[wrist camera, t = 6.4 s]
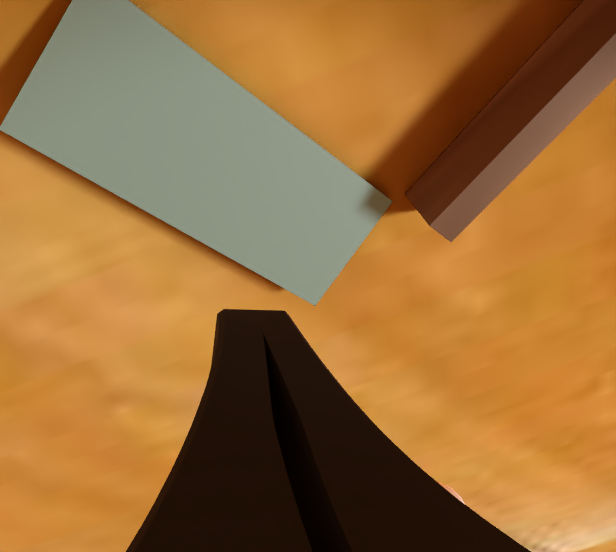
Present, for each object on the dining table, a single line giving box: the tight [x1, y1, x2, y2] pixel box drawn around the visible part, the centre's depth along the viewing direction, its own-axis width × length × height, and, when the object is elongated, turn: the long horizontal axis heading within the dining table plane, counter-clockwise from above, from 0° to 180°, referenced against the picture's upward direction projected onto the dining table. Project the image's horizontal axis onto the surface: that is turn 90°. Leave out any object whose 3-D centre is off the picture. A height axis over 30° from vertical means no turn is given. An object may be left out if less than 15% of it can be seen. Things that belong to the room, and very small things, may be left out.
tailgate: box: [0, 0, 393, 305], centre depth 18 cm, size 1×12×5 cm
